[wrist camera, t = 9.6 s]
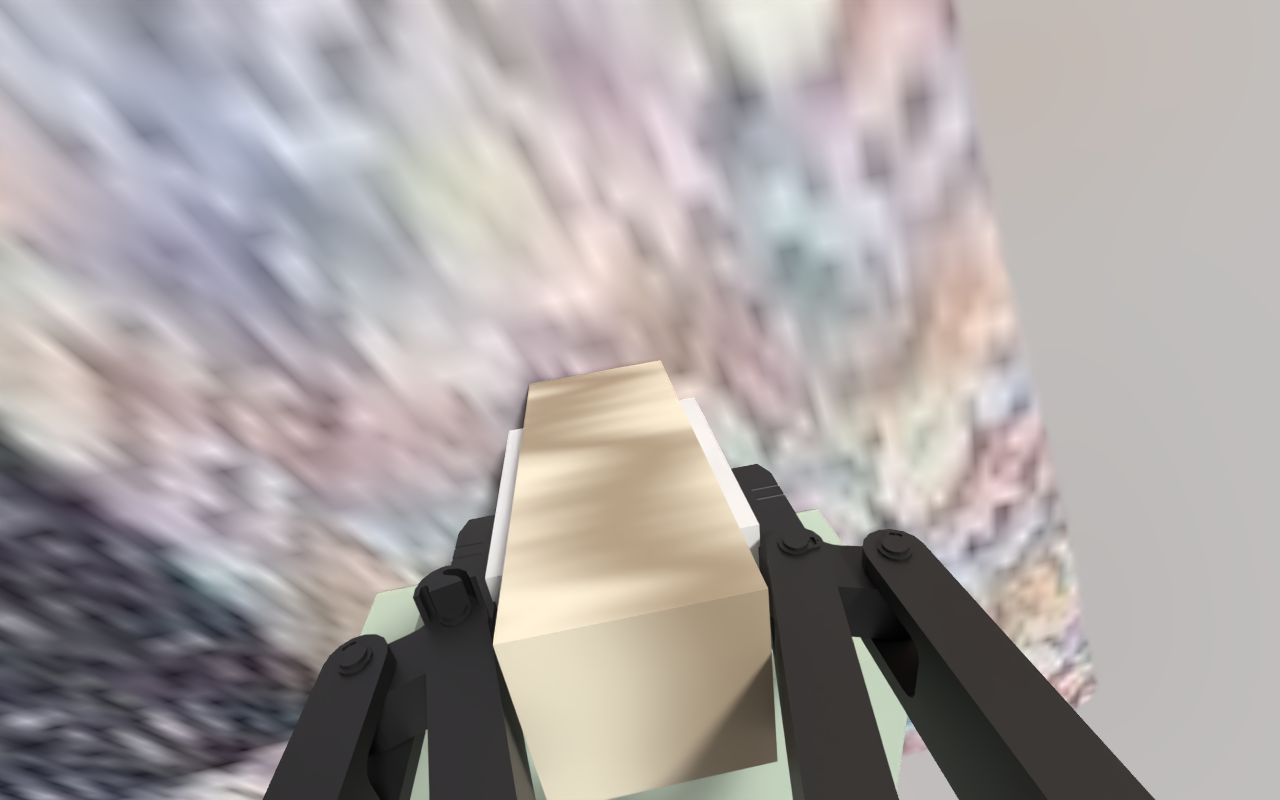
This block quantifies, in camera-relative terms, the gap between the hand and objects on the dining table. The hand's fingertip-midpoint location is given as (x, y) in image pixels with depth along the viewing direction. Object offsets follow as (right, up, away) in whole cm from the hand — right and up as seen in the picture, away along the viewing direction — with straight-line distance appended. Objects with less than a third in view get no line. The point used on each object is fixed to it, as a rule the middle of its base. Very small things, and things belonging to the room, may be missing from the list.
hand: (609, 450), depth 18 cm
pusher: (+1, -5, +4) cm, 7 cm away
